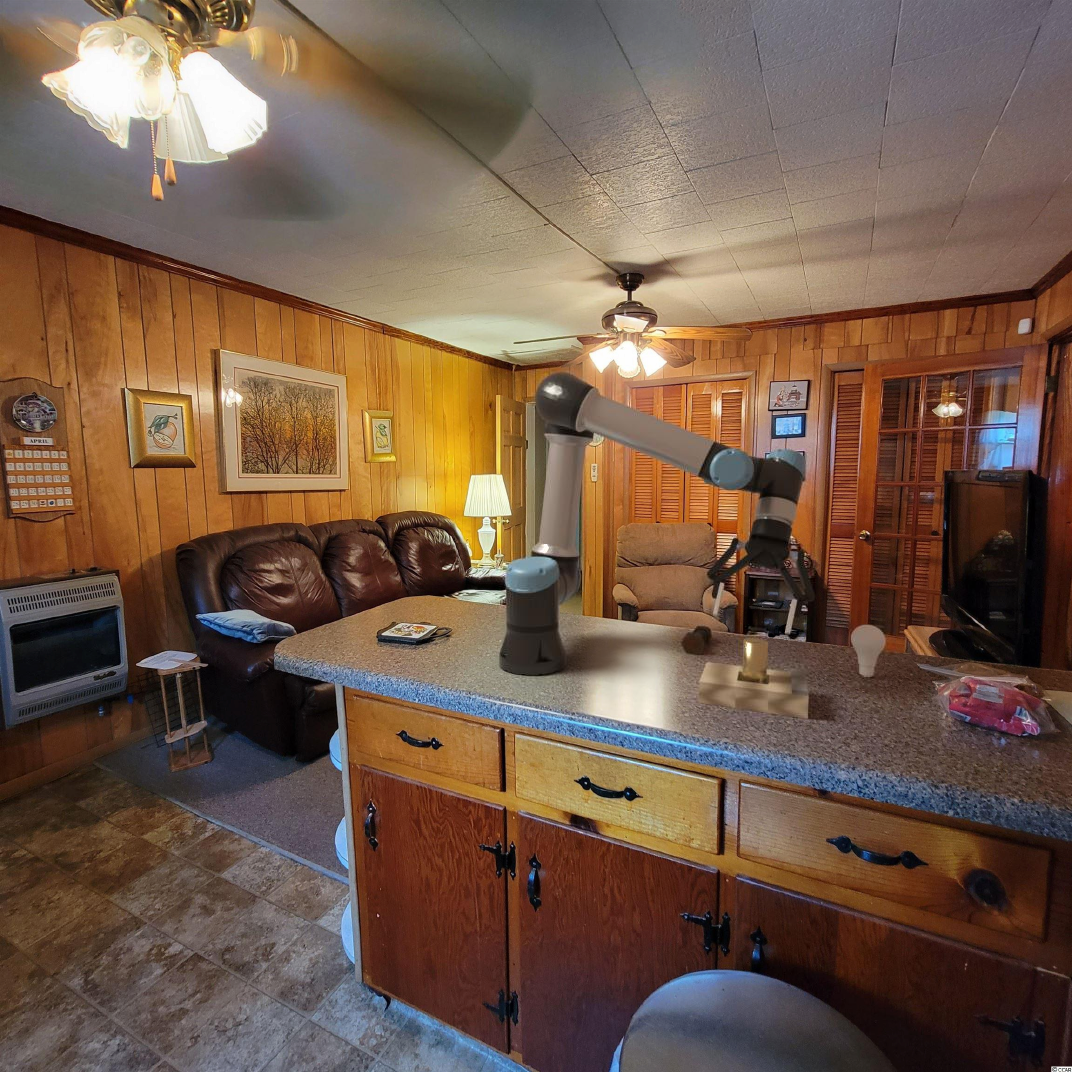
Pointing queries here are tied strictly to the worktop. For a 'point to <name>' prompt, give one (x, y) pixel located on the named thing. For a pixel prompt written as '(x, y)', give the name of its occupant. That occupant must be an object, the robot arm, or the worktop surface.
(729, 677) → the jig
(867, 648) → the lightbulb
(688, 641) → the bolt
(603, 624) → the worktop surface
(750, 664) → the brass cylinder
